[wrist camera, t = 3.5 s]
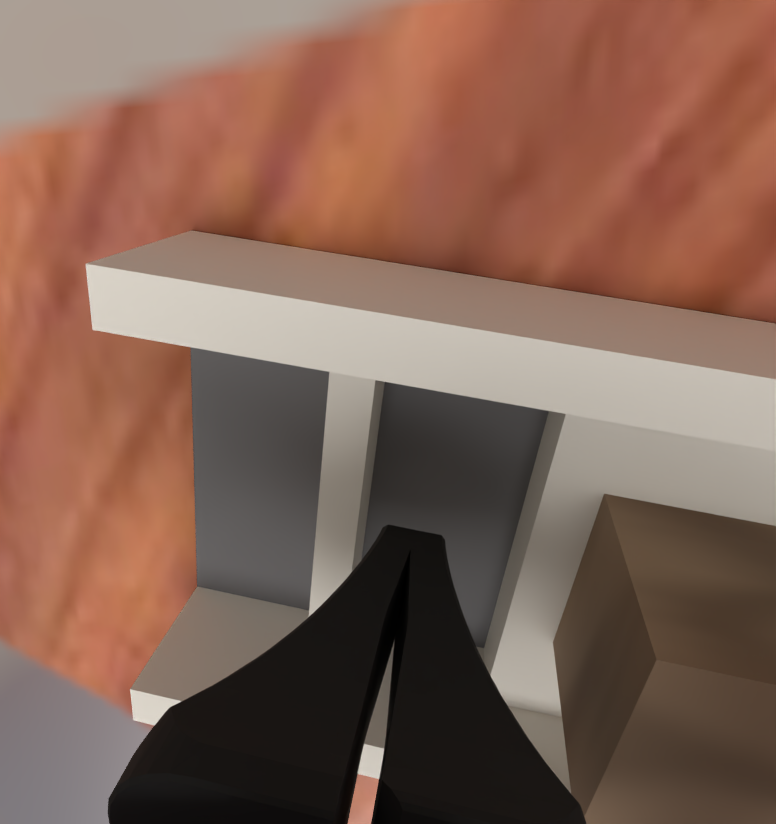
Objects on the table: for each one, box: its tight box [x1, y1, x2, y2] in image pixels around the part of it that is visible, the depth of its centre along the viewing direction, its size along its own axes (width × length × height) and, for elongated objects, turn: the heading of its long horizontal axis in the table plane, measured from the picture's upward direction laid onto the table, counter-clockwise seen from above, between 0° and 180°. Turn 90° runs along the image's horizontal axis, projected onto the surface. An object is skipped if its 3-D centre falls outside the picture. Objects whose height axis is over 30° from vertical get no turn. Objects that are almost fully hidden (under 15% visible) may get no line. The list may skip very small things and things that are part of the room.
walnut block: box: [553, 494, 776, 824], centre depth 11 cm, size 4×4×4 cm
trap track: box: [86, 230, 776, 793], centre depth 14 cm, size 22×12×4 cm, turn 83°
